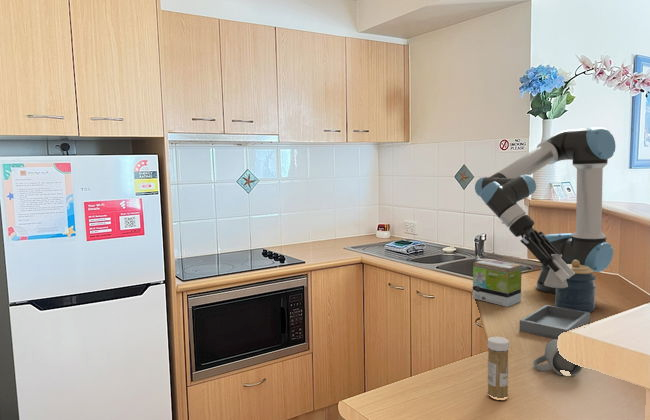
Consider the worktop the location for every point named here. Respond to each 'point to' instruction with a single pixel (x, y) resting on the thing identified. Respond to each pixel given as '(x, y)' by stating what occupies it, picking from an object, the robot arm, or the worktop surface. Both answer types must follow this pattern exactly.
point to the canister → (577, 289)
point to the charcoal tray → (553, 321)
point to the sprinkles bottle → (498, 367)
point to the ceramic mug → (555, 360)
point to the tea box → (497, 282)
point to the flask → (552, 278)
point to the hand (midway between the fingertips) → (568, 277)
